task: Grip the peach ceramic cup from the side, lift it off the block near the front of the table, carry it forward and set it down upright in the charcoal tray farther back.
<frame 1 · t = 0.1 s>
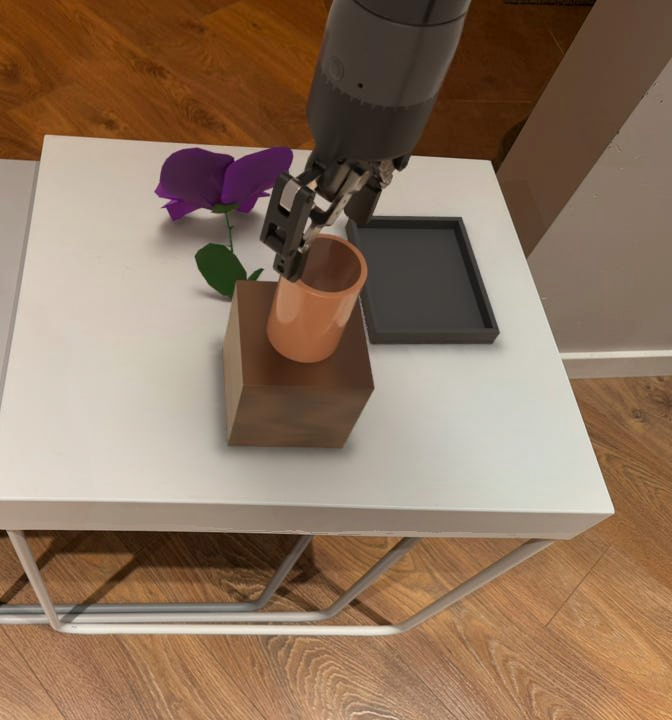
hand: (322, 245, 59), 21 cm above the table, tool pointing down, fingers open, 8 cm apart
cup: (302, 332, 66), point 11 cm above the table, touching block
tray: (415, 282, 85), on the table
flower: (222, 257, 85), on the table
block: (280, 396, 75), on the table
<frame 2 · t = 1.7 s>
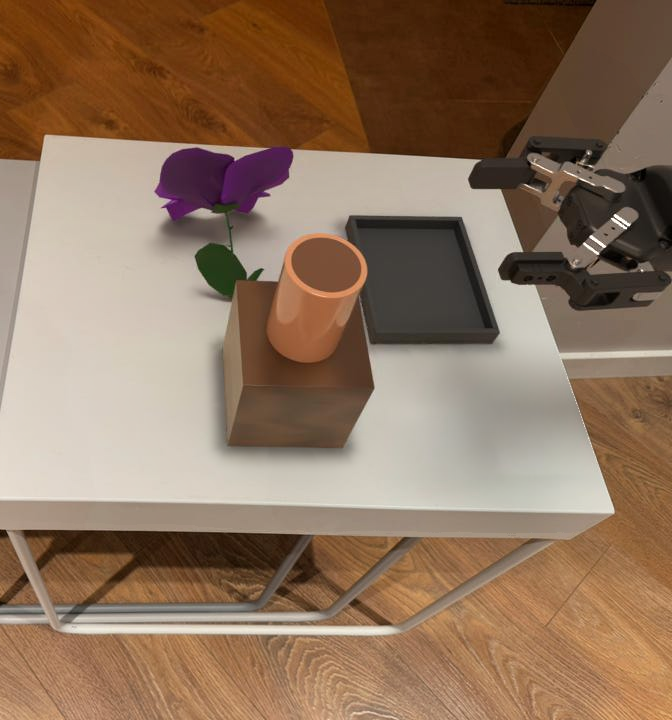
hand: (487, 219, 54), 26 cm above the table, tool horizontal, fingers open, 8 cm apart
nothing on the table moved.
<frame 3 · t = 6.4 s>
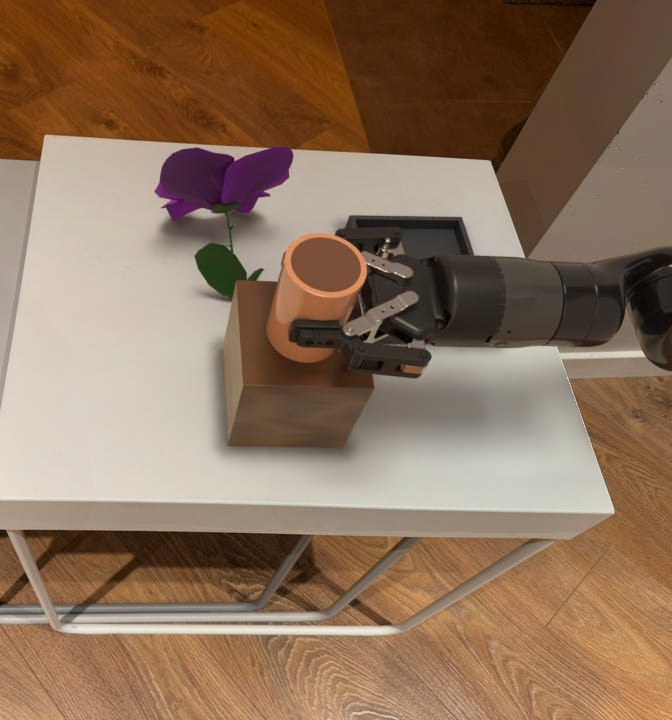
hand: (286, 295, 62), 16 cm above the table, tool horizontal, fingers closed on cup, 6 cm apart
cup: (302, 332, 66), point 11 cm above the table, touching gripper, block
everything else where it was.
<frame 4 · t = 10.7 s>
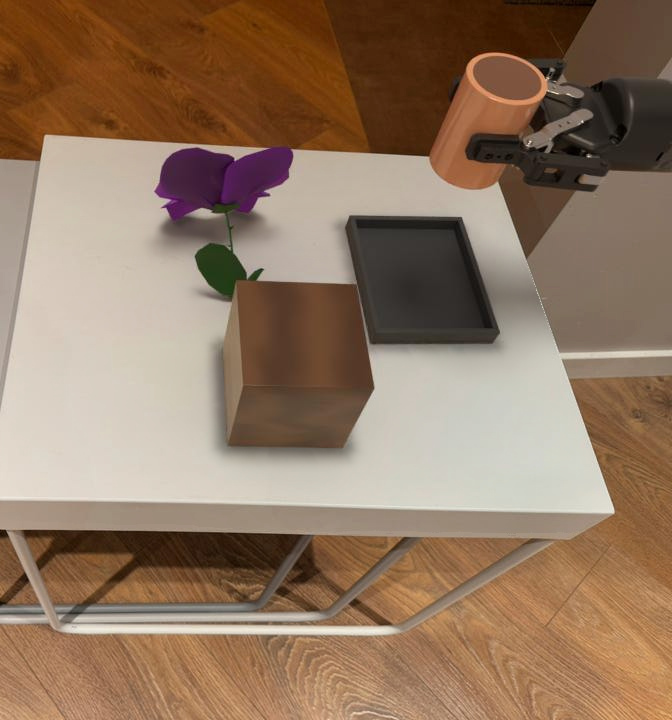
hand: (460, 117, 64), 24 cm above the table, tool horizontal, fingers closed on cup, 6 cm apart
cup: (464, 164, 68), point 19 cm above the table, touching gripper
everything else where it was.
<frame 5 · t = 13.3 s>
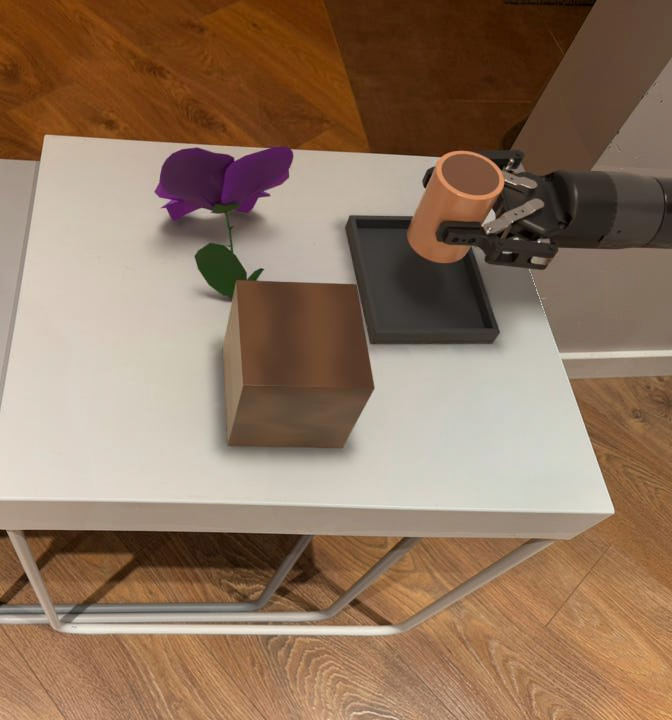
hand: (432, 204, 75), 12 cm above the table, tool horizontal, fingers closed on cup, 6 cm apart
cup: (437, 239, 79), point 7 cm above the table, touching gripper
everything else where it was.
when the fingers open (6 cm above the table, at t = 15.4 s): cup stays where it is, resting on tray.
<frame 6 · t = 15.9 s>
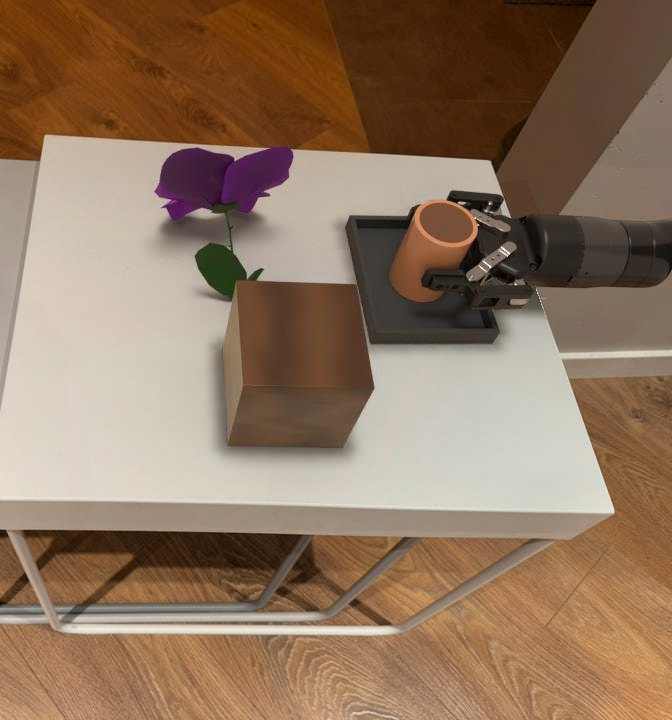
hand: (416, 246, 80), 6 cm above the table, tool horizontal, fingers open, 8 cm apart
cup: (417, 279, 84), resting on tray
everything else where it was.
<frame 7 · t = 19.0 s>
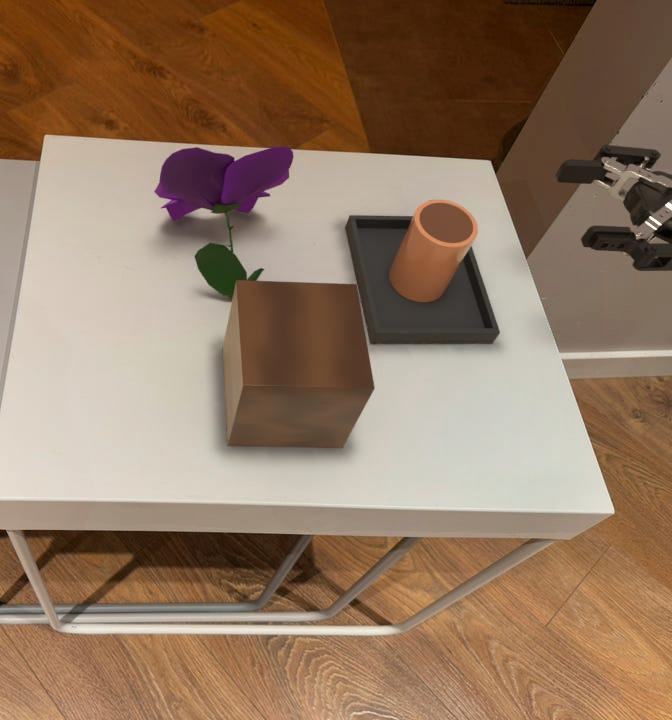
hand: (572, 203, 73), 14 cm above the table, tool horizontal, fingers open, 8 cm apart
nothing on the table moved.
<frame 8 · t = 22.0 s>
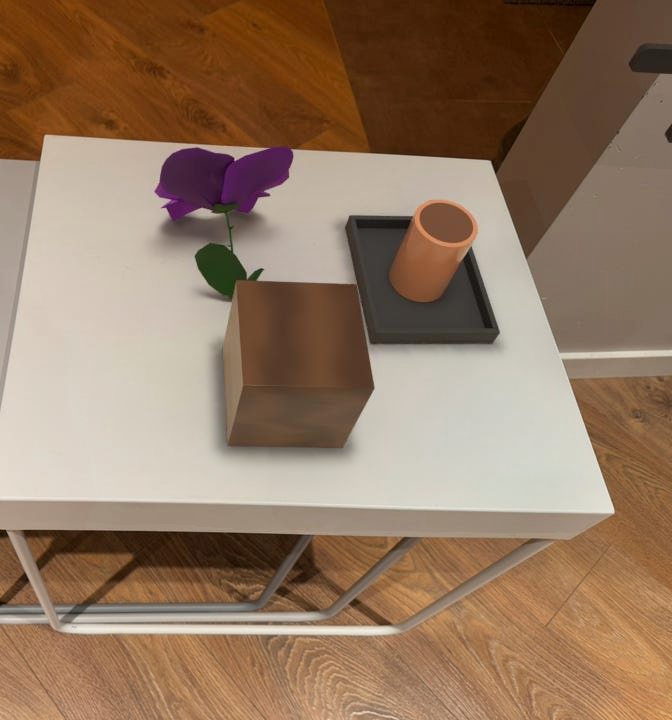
hand: (652, 91, 61), 28 cm above the table, tool horizontal, fingers open, 8 cm apart
nothing on the table moved.
at the end: cup inside the target area in the tray (0.1 cm from its centre), point 0.5 cm above the tray's base; cup tilted 0°; cup moved 24.5 cm from its start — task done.
